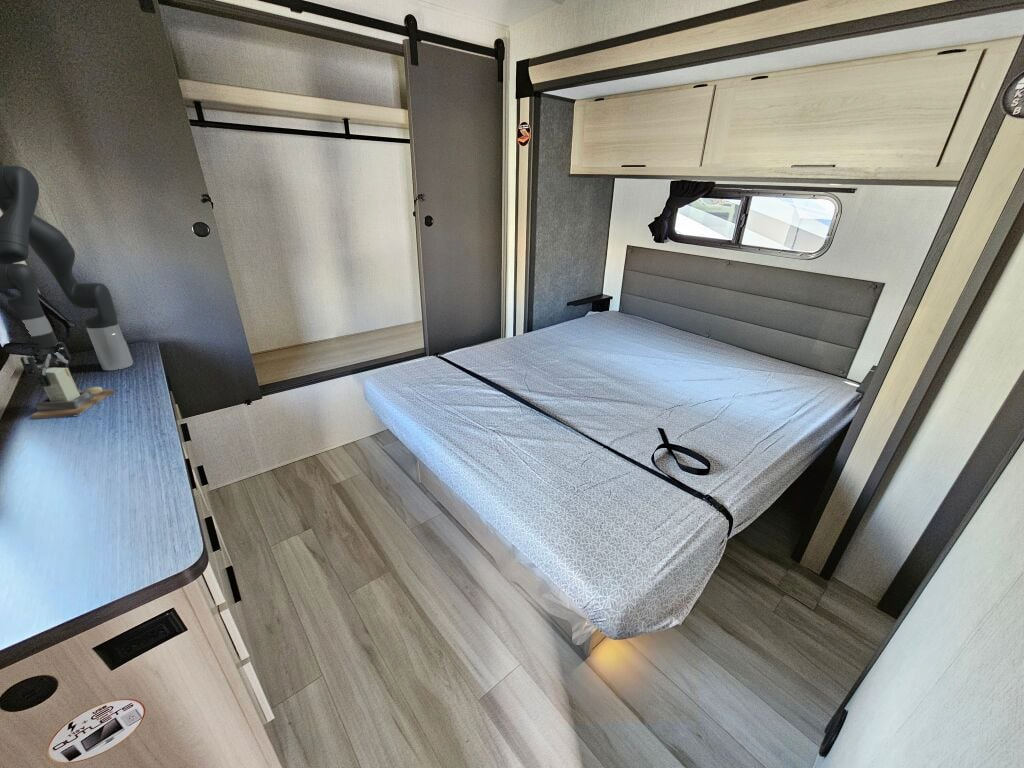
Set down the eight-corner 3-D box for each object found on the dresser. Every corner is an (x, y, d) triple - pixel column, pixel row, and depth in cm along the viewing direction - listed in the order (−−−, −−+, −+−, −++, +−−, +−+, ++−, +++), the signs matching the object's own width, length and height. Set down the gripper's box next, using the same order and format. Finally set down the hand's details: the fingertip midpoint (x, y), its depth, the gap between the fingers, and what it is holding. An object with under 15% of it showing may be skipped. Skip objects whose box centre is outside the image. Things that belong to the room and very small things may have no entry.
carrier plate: (74, 393, 144) (70, 384, 143) (114, 392, 147) (111, 382, 145) (32, 418, 128) (26, 408, 127) (78, 416, 131) (73, 405, 129)
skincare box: (84, 401, 137) (69, 367, 132) (70, 407, 133) (55, 372, 128) (65, 400, 137) (49, 366, 132) (51, 406, 133) (35, 371, 128)
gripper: (38, 325, 131) (59, 372, 137) (-2, 339, 118) (24, 390, 125) (66, 324, 132) (86, 371, 139) (30, 339, 120) (54, 389, 127)
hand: (56, 380), depth 132 cm, fingers open, 8 cm apart
